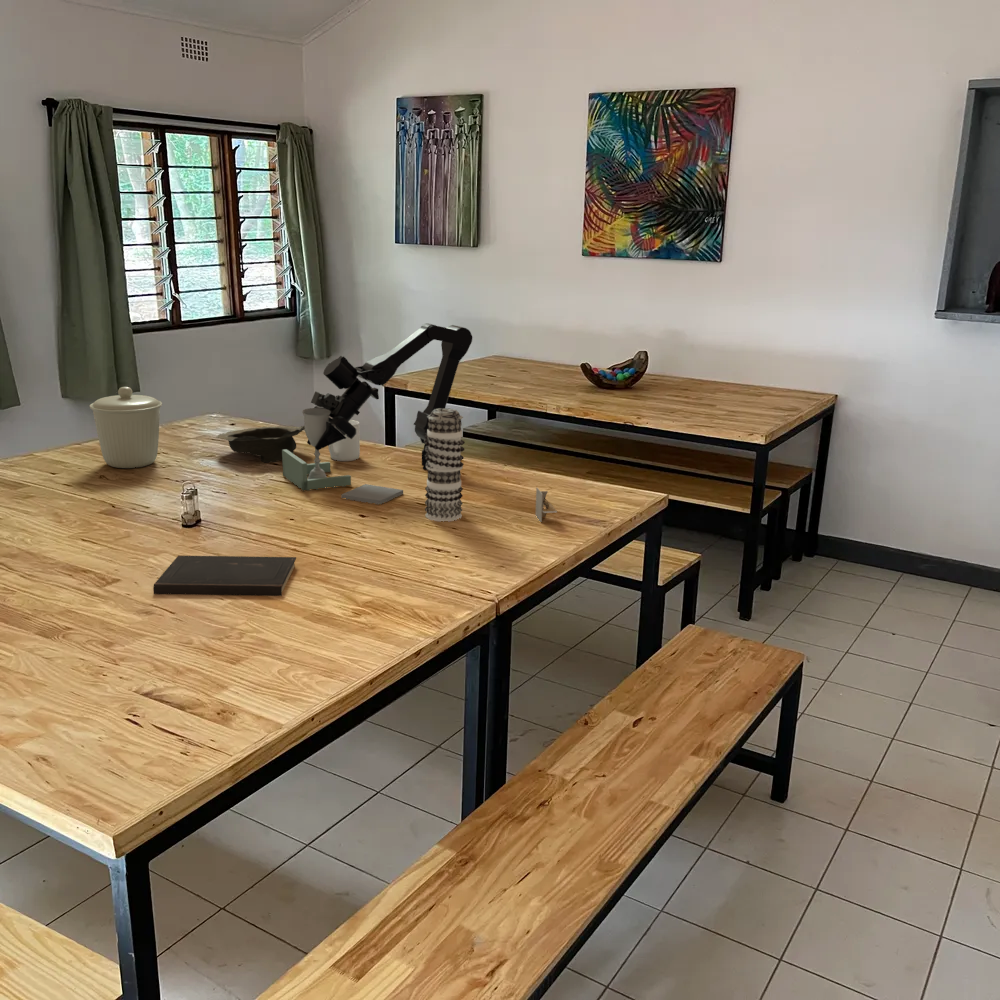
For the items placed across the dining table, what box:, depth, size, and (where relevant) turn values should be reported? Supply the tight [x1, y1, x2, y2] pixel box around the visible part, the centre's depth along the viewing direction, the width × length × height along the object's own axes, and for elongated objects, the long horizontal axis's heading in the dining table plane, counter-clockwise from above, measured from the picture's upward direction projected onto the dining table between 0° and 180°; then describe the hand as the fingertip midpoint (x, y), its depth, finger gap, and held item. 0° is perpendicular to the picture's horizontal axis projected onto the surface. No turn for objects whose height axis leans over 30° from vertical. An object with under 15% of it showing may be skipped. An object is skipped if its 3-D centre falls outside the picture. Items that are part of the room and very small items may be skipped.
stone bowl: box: [215, 425, 305, 464], centre depth 276 cm, size 25×25×9 cm
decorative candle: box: [424, 407, 466, 523], centre depth 223 cm, size 9×9×25 cm
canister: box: [89, 386, 163, 469], centre depth 261 cm, size 18×18×21 cm
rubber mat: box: [340, 483, 404, 505], centre depth 241 cm, size 11×11×1 cm
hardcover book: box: [152, 555, 297, 597], centre depth 184 cm, size 16×23×2 cm
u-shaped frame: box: [281, 449, 352, 492], centre depth 252 cm, size 13×16×7 cm
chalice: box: [301, 407, 331, 479], centre depth 251 cm, size 7×7×18 cm
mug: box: [327, 419, 361, 462], centre depth 274 cm, size 12×8×10 cm
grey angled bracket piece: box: [534, 487, 558, 523], centre depth 225 cm, size 3×7×7 cm, turn 11°
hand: (312, 446), depth 250 cm, fingers open, 6 cm apart
